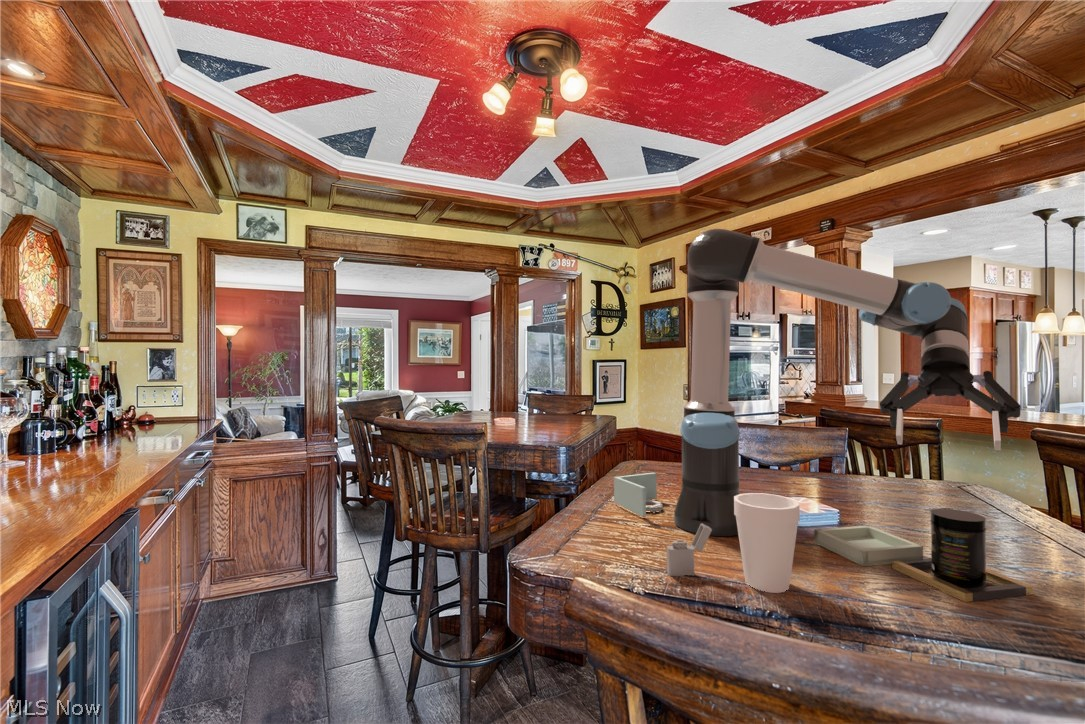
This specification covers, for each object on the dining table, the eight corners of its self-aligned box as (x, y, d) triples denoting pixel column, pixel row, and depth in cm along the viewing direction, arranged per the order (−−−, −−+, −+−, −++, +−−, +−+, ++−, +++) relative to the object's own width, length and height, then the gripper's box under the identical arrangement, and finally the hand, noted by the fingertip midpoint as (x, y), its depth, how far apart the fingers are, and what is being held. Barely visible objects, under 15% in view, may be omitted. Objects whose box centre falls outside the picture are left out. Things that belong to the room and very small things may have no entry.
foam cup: (724, 572, 82) (723, 493, 82) (777, 569, 83) (776, 492, 83) (753, 599, 72) (752, 510, 73) (813, 596, 73) (812, 508, 73)
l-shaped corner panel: (642, 521, 111) (642, 487, 111) (614, 507, 122) (613, 477, 122) (685, 514, 116) (685, 482, 116) (654, 501, 127) (654, 472, 127)
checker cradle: (965, 602, 71) (965, 593, 71) (892, 568, 83) (892, 561, 83) (1032, 594, 73) (1032, 586, 73) (952, 562, 85) (952, 555, 85)
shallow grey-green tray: (863, 566, 84) (862, 551, 84) (814, 542, 95) (814, 529, 95) (923, 560, 86) (922, 546, 86) (868, 538, 97) (868, 525, 97)
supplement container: (994, 594, 73) (993, 523, 73) (937, 585, 76) (936, 517, 76) (978, 576, 79) (977, 511, 80) (926, 569, 82) (925, 506, 83)
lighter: (669, 576, 81) (669, 526, 81) (666, 571, 82) (666, 523, 82) (712, 575, 81) (712, 526, 81) (708, 570, 83) (708, 522, 83)
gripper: (1030, 369, 94) (1044, 461, 82) (873, 372, 110) (865, 449, 98) (1032, 341, 90) (1046, 433, 78) (868, 348, 106) (860, 425, 94)
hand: (946, 442), depth 88 cm, fingers open, 13 cm apart
